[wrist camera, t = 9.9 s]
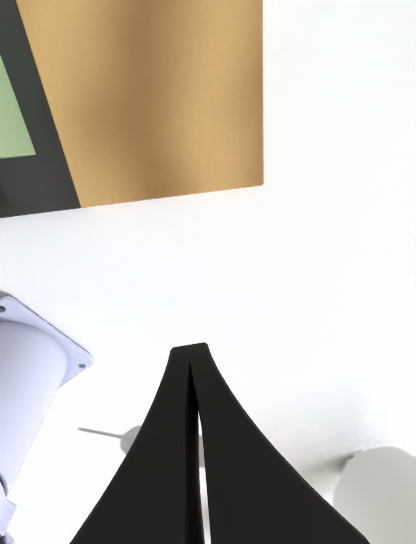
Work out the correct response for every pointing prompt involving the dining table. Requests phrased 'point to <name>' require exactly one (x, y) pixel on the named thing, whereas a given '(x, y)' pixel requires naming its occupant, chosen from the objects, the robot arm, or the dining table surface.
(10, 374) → the robot arm
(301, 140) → the dining table surface
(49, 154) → the board
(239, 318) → the dining table surface
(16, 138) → the sage block
